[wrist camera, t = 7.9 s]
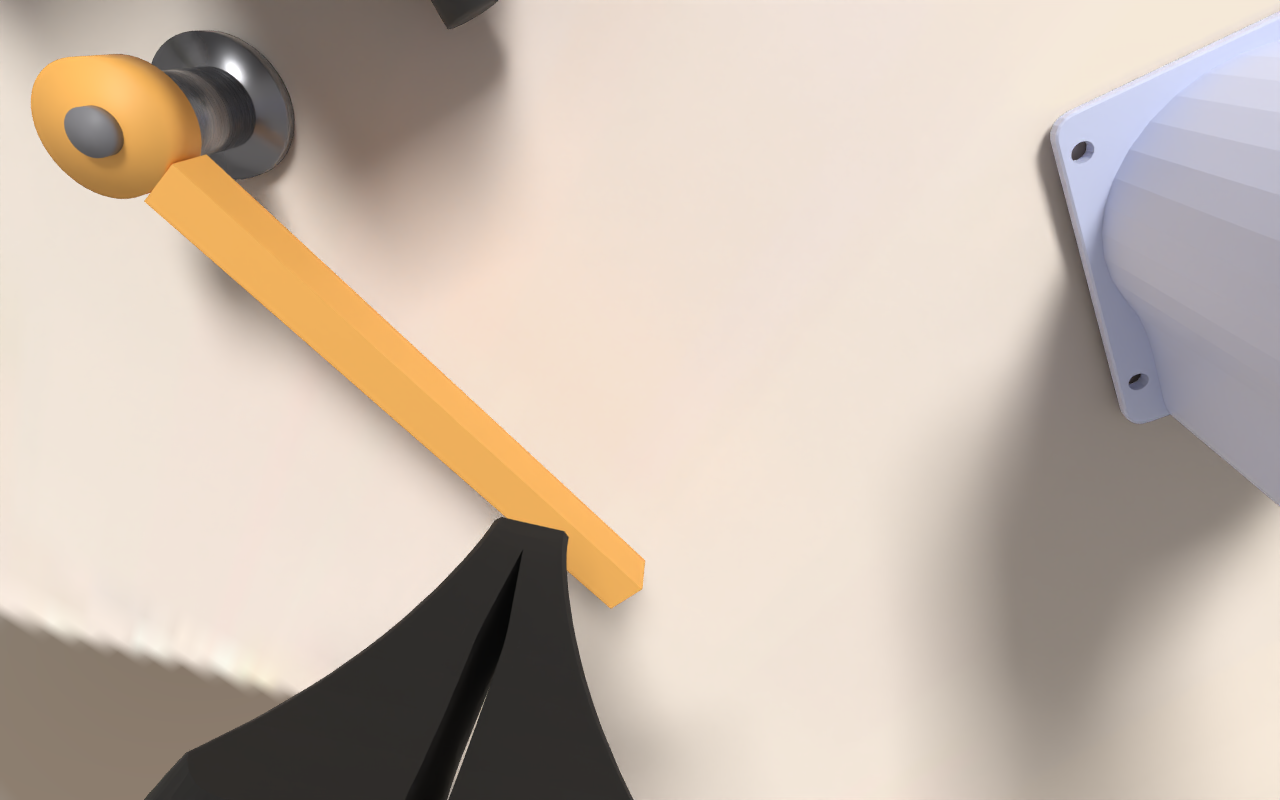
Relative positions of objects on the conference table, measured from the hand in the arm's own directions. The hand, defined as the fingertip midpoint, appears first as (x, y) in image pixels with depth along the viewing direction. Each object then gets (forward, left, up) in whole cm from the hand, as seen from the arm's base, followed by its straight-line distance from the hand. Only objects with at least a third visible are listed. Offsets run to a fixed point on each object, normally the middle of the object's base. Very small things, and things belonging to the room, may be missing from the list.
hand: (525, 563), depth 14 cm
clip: (+3, +3, -6) cm, 7 cm away
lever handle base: (+11, +5, -9) cm, 15 cm away
